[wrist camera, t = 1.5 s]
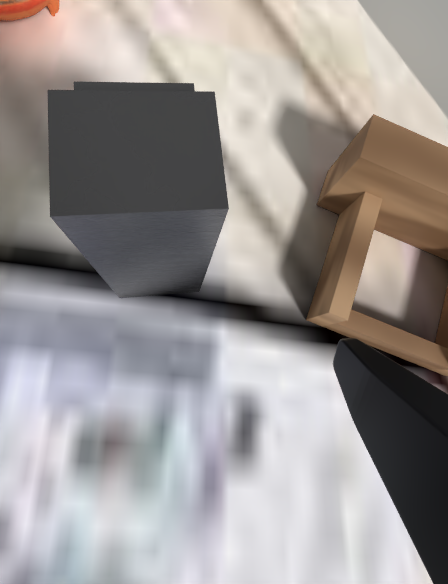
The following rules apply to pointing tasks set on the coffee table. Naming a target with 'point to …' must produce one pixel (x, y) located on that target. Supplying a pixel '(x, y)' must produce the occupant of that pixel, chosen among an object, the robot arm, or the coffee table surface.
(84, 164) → the stepped grey pillar
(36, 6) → the pot
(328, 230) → the coffee table surface
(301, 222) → the coffee table surface
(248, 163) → the coffee table surface
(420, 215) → the brown wooden frame
